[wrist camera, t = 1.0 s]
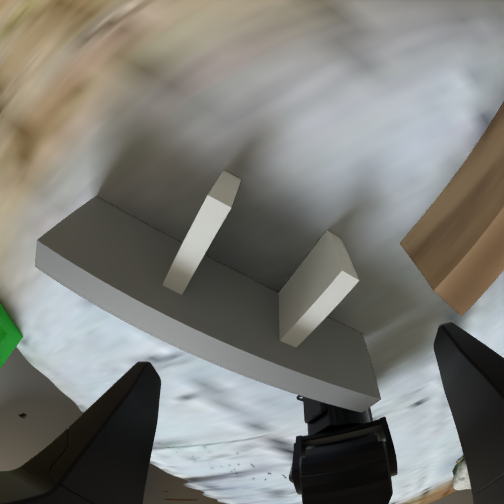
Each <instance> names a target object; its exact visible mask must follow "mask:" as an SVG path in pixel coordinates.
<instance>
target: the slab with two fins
mask: <svg viewBox="0 0 504 504" xmlns="http://www.w3.org/2000/svg"><path fill="white" fill-rule="evenodd" d="M240 182H241V179H239V178H237V177H235V176H233V175H232V174H230V173H228V172H226V171H224V170H223V172H222V173H221V175H220V176H219V178H218V180H217V181H216V183H215V184H214V186H213V187H212V189H211V190H210V192H209V194H208V195H207V197H206V199H205V201H204V203H203V205H202V207H201V208H200V210H199V212H198V214H197V216H196V218H195V220H194V222H193V224H192V226H191V228H190V230H189V231H188V233H187V235H186V237H185V239H184V241H183V243H181V242H180V241H178V240H176V239H174V238H172V237H170V236H168V235H166V234H164V233H163V232H161V231H159V230H157V229H155V228H153V227H151V226H150V225H148V224H146V223H144V222H142V221H140V220H139V219H137V218H135V217H133V216H131V215H129V214H127V213H126V212H124V211H122V210H120V209H118V208H117V207H115V206H113V205H111V204H109V203H107V202H106V201H104V200H102V199H100V198H98V197H97V196H96V197H94V198H93V199H91V200H90V201H88V202H87V203H86V204H84V205H83V206H81V207H80V208H78V209H77V210H76V211H74V212H73V213H72V214H70V215H69V216H68V217H66V218H65V219H63V220H62V221H61V222H60V223H58V224H57V225H56V226H54V227H53V228H52V229H50V230H49V231H48V232H47V233H45V234H44V235H43V236H42V237H40V238H39V239H38V240H37V247H36V259H35V267H36V268H38V269H39V270H41V271H42V272H44V273H45V274H47V275H48V276H50V277H51V278H53V279H54V280H56V281H57V282H59V283H60V284H62V285H63V286H65V287H67V288H68V289H70V290H71V291H73V292H75V293H76V294H78V295H79V296H81V297H83V298H84V299H86V300H88V301H89V302H91V303H93V304H95V305H96V306H98V307H100V308H101V309H103V310H105V311H107V312H108V313H110V314H112V315H114V316H116V317H118V318H119V319H121V320H123V321H125V322H127V323H129V324H131V325H132V326H134V327H136V328H138V329H140V330H142V331H144V332H146V333H148V334H150V335H152V336H154V337H156V338H158V339H160V340H162V341H164V342H166V343H168V344H170V345H173V346H175V347H177V348H179V349H181V350H183V351H186V352H188V353H190V354H192V355H195V356H197V357H199V358H201V359H204V360H206V361H208V362H211V363H213V364H216V365H218V366H220V367H223V368H225V369H228V370H230V371H233V372H235V373H238V374H240V375H243V376H246V377H248V378H251V379H254V380H256V381H259V382H262V383H265V384H267V385H270V386H273V387H276V388H279V389H282V390H285V391H288V392H291V393H294V394H297V395H300V396H304V397H307V398H310V399H313V400H317V401H320V402H324V403H327V404H331V405H334V406H338V407H342V408H346V409H349V410H353V411H357V412H361V413H362V412H363V411H365V410H366V409H368V408H369V407H371V406H372V405H374V404H375V403H376V402H378V401H379V400H381V397H380V393H379V389H378V386H377V382H376V378H375V375H374V371H373V367H372V364H371V360H370V357H369V353H368V350H367V347H366V343H365V340H364V337H363V334H362V333H360V332H358V331H356V330H354V329H352V328H350V327H348V326H346V325H344V324H341V323H339V322H337V321H335V320H333V319H331V318H329V317H327V316H328V315H329V314H330V312H331V311H332V310H333V309H334V308H335V307H336V306H337V305H338V304H339V303H340V302H341V301H342V299H343V298H344V297H345V296H346V295H347V294H348V293H349V292H350V291H351V289H352V288H353V287H354V286H355V285H356V284H357V283H358V282H359V279H358V276H357V274H356V272H355V269H354V267H353V265H352V262H351V260H350V258H349V255H348V253H347V251H346V249H345V246H344V244H343V242H342V240H341V239H340V238H339V237H337V236H336V235H334V234H332V233H331V232H329V231H328V230H326V232H325V233H324V234H323V236H322V237H321V238H320V240H319V241H318V242H317V244H316V245H315V246H314V248H313V249H312V250H311V252H310V253H309V254H308V255H307V257H306V258H305V259H304V261H303V262H302V263H301V265H300V266H299V267H298V268H297V270H296V271H295V272H294V274H293V275H292V276H291V277H290V279H289V280H288V281H287V282H286V284H285V285H284V286H283V288H282V289H281V290H280V291H279V293H278V292H276V291H274V290H272V289H271V288H269V287H267V286H265V285H263V284H261V283H259V282H257V281H255V280H253V279H251V278H249V277H247V276H245V275H243V274H241V273H239V272H237V271H235V270H233V269H231V268H229V267H227V266H225V265H223V264H222V263H220V262H218V261H216V260H214V259H212V258H210V257H208V256H206V255H204V254H205V253H206V251H207V249H208V247H209V246H210V244H211V242H212V240H213V239H214V237H215V235H216V233H217V232H218V230H219V228H220V226H221V225H222V223H223V221H224V220H225V218H226V216H227V214H228V213H229V211H230V209H231V208H232V205H233V202H234V199H235V196H236V193H237V190H238V188H239V185H240Z"/></svg>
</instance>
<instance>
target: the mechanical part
mask: <svg viewBox="0 0 504 504" xmlns="http://www.w3.org/2000/svg"><path fill="white" fill-rule="evenodd" d="M22 338H23V336H22V334H21V333H20V332H19V330H18V329H17V327H16V326H15V324H14V323H13V322H12V320H11V319H10V317H9V316H8V314H7V313H6V311H5V310H4V308H3V306H2V305H1V303H0V367H1V366H3V364H4V363H5V361H6V360H7V359H8V357H9V356H10V354H11V353H12V351H13V350H14V349H15V347H16V346H17V344H18V343H19V342H20V340H21V339H22Z"/></svg>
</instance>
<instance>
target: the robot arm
mask: <svg viewBox="0 0 504 504" xmlns="http://www.w3.org/2000/svg"><path fill="white" fill-rule="evenodd" d="M434 352H435V355H436V359H437V363H438V367H439V370H440V375H441V379H442V383H443V387H444V391H445V394H446V397H447V400H448V403H449V406H450V409H451V412H452V415H453V419H454V422H455V425H456V428H457V432H458V435H459V439H460V443H461V446H462V450H463V454H464V458H465V462H466V466H467V471H468V475H469V480H470V485H471V490H472V495H473V502H474V504H504V358H503V357H502V356H500V355H499V354H497V353H496V352H495V351H493V350H492V349H490V348H489V347H487V346H486V345H485V344H483V343H482V342H480V341H479V340H477V339H476V338H474V337H473V336H471V335H470V334H469V333H467V332H466V331H464V330H463V329H461V328H460V327H458V326H457V325H455V324H454V323H452V322H448V323H445V324H441V325H440V326H439V327H438V331H437V334H436V338H435V341H434ZM160 389H161V379H160V377H159V375H158V373H157V372H156V370H155V369H154V367H153V366H152V364H151V363H150V362H137V363H136V364H135V365H134V366H133V367H132V368H131V369H130V370H129V371H128V372H126V373H125V374H124V375H123V376H122V377H121V378H120V379H119V380H118V381H117V382H116V383H115V384H114V385H113V386H112V387H111V388H110V389H108V390H107V391H106V392H105V393H104V394H103V395H102V396H101V397H100V398H99V399H98V400H97V401H96V402H95V403H94V404H93V405H92V406H90V407H89V408H88V409H87V410H86V411H85V412H84V413H83V414H82V415H81V416H80V417H79V418H78V419H77V420H76V421H75V422H74V423H72V424H71V425H70V426H69V428H67V429H66V430H65V431H64V432H63V433H62V434H61V435H60V436H58V437H57V438H56V439H55V440H54V441H53V442H52V443H51V444H49V445H48V446H47V447H46V448H45V449H43V450H42V451H41V452H39V453H38V454H37V455H36V456H34V457H33V458H31V459H30V460H29V461H28V462H26V463H25V464H24V465H22V466H21V467H19V468H17V469H14V470H11V471H1V472H0V504H143V499H144V492H145V486H146V480H147V474H148V468H149V463H150V458H151V452H152V447H153V442H154V437H155V432H156V426H157V420H158V410H159V399H160ZM299 397H303V398H302V399H300V398H299ZM297 400H300V401H303V402H304V419H305V423H308V435H307V436H302V435H301V436H296V443H294V453H293V463H292V467H291V471H290V474H289V480H290V481H291V482H292V483H294V486H295V489H296V492H297V493H298V494H302V502H303V504H388V503H389V501H390V499H391V497H392V494H393V490H392V482H391V477H392V476H395V475H397V460H396V454H395V449H394V445H393V441H392V438H391V434H390V431H389V427H388V424H387V421H386V417H382V418H380V419H378V420H375V421H373V418H372V413H371V409H370V407H369V408H368V409H366V410H365V411H363V412H362V413H361V412H357V411H353V410H349V409H346V408H342V407H338V406H334V405H331V404H327V403H324V402H320V401H317V400H313V399H310V398H307V397H304V396H300V395H298V396H297Z"/></svg>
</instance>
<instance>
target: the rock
mask: <svg viewBox="0 0 504 504" xmlns="http://www.w3.org/2000/svg"><path fill="white" fill-rule="evenodd" d="M456 463H457V465H455V467H454V469H453V471H452V472H453V474H454V477H453V486H454V489H456V490H464V489H471V485H470V480H469V475H468V471H467V466H466V462H465V458H464V457H461V460H458V461H457V462H456Z"/></svg>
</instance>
